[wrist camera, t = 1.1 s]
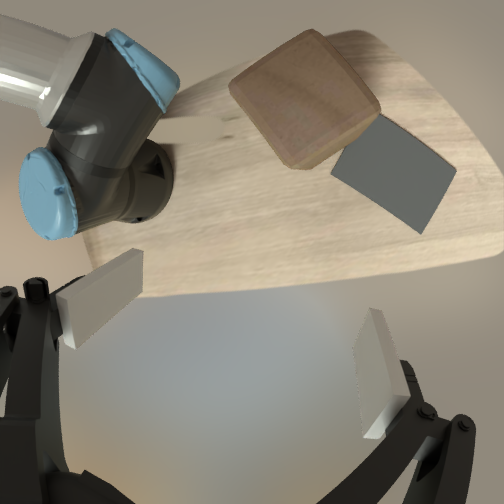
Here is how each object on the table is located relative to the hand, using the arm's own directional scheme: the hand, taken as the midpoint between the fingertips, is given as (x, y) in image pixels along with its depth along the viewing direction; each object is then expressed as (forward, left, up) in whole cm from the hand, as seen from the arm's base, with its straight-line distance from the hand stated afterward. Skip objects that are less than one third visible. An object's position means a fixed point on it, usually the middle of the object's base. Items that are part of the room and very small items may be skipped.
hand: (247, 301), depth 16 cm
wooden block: (-4, +13, -30) cm, 33 cm away
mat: (+10, +14, -30) cm, 35 cm away
